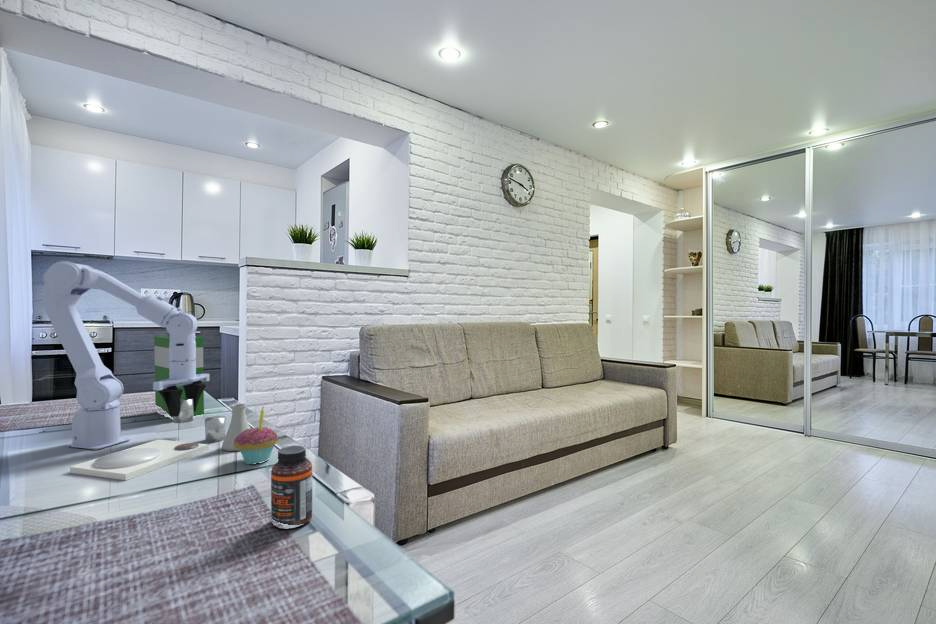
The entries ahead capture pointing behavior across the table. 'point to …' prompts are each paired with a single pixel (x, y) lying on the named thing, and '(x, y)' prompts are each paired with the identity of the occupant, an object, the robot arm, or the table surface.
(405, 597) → the table surface
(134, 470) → the scale
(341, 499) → the table surface
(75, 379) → the robot arm
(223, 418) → the cylinder
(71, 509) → the table surface
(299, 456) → the supplement bottle
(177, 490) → the table surface
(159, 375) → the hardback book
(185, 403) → the cylinder
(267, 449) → the cupcake
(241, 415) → the flask
